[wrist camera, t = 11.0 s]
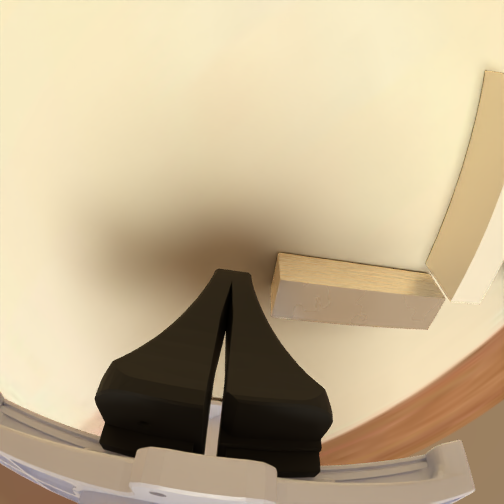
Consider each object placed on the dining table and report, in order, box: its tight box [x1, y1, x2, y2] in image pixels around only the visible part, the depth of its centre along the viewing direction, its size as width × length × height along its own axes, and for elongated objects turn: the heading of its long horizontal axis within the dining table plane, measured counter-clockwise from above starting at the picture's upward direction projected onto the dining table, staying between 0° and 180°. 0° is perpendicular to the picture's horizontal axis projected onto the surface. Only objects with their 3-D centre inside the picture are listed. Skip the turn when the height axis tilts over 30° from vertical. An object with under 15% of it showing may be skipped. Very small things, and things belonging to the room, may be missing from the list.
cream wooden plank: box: [271, 253, 445, 330], centre depth 14 cm, size 2×8×2 cm, turn 82°
